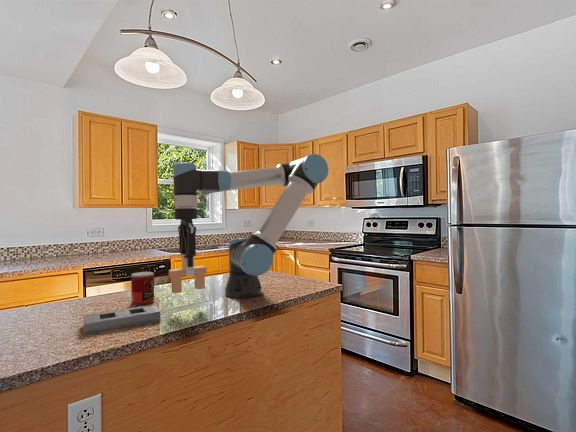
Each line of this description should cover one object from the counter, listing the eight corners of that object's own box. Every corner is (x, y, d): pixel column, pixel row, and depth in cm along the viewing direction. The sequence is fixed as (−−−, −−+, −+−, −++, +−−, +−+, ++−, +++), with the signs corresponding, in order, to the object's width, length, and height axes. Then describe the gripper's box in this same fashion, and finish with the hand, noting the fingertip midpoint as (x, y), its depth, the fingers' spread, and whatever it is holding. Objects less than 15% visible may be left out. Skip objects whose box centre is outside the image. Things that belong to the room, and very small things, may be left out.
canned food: (145, 306, 114) (145, 275, 114) (126, 304, 115) (126, 275, 115) (158, 300, 121) (158, 272, 121) (140, 299, 123) (140, 271, 123)
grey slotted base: (154, 313, 105) (154, 304, 105) (160, 320, 98) (160, 311, 98) (83, 325, 94) (83, 315, 94) (84, 335, 86) (84, 324, 86)
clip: (203, 286, 114) (202, 251, 113) (207, 288, 111) (205, 252, 110) (169, 291, 107) (168, 255, 107) (171, 293, 104) (170, 256, 104)
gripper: (168, 208, 113) (171, 273, 114) (181, 207, 99) (183, 280, 100) (189, 208, 117) (191, 270, 118) (204, 207, 104) (206, 277, 104)
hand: (188, 275), depth 109 cm, fingers closed on clip, 3 cm apart
